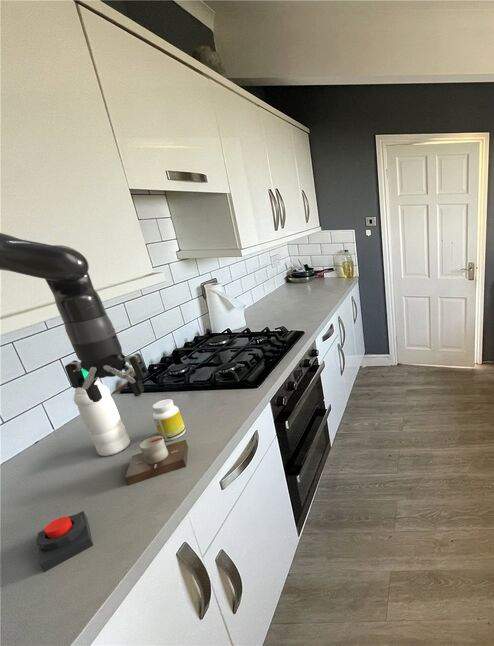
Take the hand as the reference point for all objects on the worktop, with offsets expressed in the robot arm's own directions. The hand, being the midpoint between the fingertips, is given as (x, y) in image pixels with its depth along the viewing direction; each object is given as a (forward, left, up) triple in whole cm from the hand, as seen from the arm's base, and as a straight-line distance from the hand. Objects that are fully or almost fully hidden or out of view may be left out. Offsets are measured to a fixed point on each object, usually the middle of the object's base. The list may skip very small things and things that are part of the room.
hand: (119, 397), depth 84 cm
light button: (-11, -18, -18) cm, 28 cm away
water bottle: (-9, +14, -22) cm, 27 cm away
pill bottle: (+5, +12, -22) cm, 25 cm away
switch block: (-11, -18, -22) cm, 30 cm away
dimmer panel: (+3, -1, -22) cm, 22 cm away
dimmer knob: (+3, -1, -19) cm, 19 cm away
